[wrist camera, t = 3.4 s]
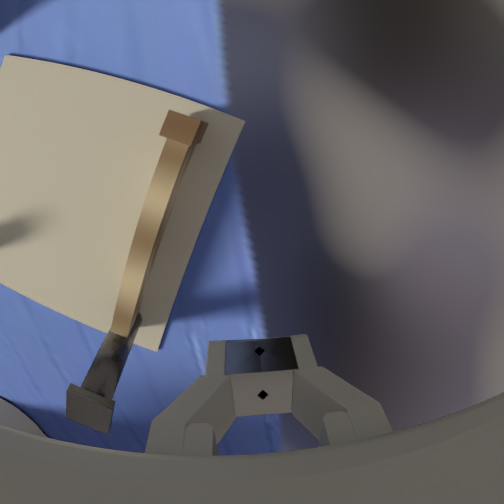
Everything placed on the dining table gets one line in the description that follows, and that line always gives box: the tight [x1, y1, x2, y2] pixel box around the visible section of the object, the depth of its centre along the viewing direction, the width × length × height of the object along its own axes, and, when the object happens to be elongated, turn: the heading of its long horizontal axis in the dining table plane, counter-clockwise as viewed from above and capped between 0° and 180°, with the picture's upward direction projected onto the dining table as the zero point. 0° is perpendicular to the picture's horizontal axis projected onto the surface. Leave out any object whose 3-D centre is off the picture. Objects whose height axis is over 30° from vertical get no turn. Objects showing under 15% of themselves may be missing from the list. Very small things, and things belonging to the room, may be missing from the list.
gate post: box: [66, 313, 142, 434], centre depth 23 cm, size 3×3×13 cm
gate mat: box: [0, 55, 245, 352], centre depth 25 cm, size 23×24×1 cm
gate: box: [110, 110, 209, 338], centre depth 22 cm, size 17×2×6 cm, turn 157°
